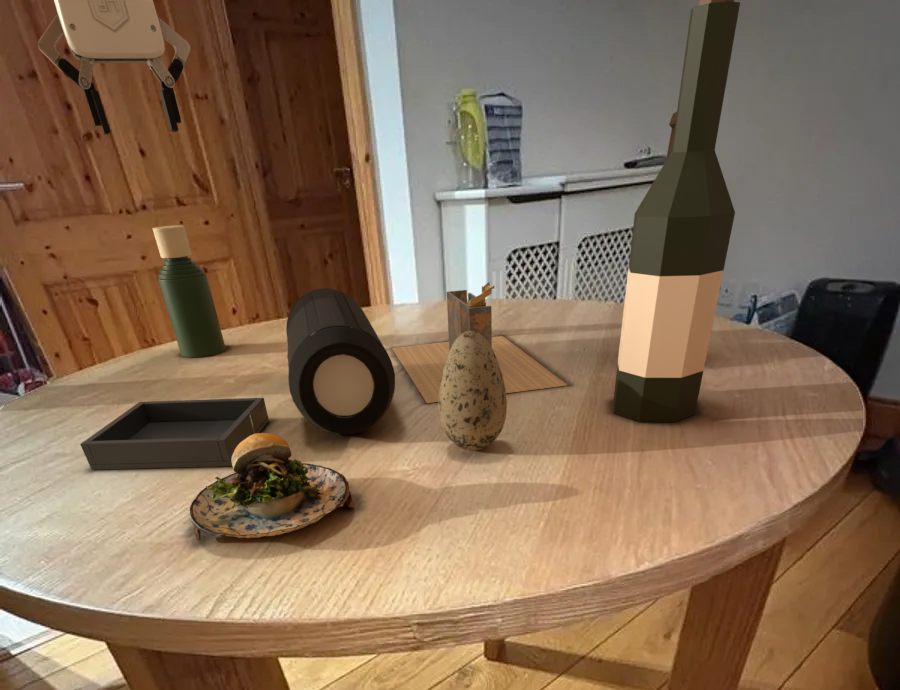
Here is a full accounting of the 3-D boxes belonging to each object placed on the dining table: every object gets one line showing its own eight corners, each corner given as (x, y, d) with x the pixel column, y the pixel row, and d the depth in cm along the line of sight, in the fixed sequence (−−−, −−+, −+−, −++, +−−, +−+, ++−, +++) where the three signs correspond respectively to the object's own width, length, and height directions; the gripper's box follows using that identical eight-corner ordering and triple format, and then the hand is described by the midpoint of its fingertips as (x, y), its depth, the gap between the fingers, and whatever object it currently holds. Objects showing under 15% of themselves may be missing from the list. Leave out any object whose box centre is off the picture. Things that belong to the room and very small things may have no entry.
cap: (155, 259, 79) (146, 229, 77) (168, 254, 83) (160, 226, 81) (184, 257, 79) (176, 227, 77) (196, 253, 82) (188, 224, 80)
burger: (171, 560, 41) (131, 458, 37) (222, 484, 51) (195, 396, 46) (342, 552, 41) (323, 449, 36) (362, 477, 50) (349, 388, 46)
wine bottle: (682, 428, 56) (770, -32, 38) (597, 415, 59) (640, -8, 41) (705, 401, 61) (792, -12, 43) (626, 390, 65) (675, 7, 47)
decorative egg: (519, 450, 53) (522, 331, 47) (464, 467, 51) (459, 344, 45) (482, 430, 58) (480, 319, 52) (429, 446, 55) (420, 331, 49)
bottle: (173, 358, 86) (134, 234, 77) (191, 346, 91) (156, 229, 82) (216, 356, 85) (182, 231, 76) (231, 345, 91) (201, 226, 81)
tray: (91, 469, 55) (79, 444, 53) (147, 424, 64) (139, 401, 62) (232, 466, 54) (224, 439, 52) (269, 421, 63) (263, 397, 61)
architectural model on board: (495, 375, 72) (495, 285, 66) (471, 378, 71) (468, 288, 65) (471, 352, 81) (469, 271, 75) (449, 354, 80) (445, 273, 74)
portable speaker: (295, 375, 76) (278, 288, 70) (372, 366, 77) (361, 280, 71) (301, 451, 56) (277, 337, 50) (404, 437, 57) (393, 325, 51)
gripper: (-20, -103, 57) (62, 134, 67) (171, -87, 62) (218, 128, 73) (-12, -78, 62) (63, 137, 73) (163, -66, 68) (209, 131, 79)
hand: (140, 131), depth 73 cm, fingers open, 7 cm apart
